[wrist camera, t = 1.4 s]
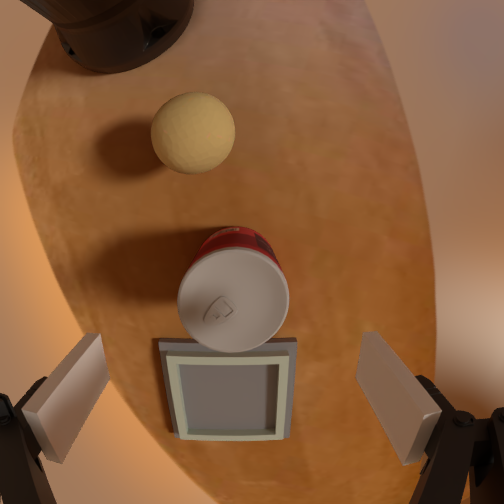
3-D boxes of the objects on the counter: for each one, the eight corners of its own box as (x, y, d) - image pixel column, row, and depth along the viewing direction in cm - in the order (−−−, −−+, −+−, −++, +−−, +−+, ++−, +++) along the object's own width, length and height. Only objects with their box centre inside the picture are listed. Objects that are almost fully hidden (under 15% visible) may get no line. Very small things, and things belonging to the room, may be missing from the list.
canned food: (182, 275, 33) (157, 320, 22) (223, 209, 31) (215, 224, 20) (245, 313, 34) (248, 371, 23) (288, 251, 32) (312, 286, 22)
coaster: (160, 338, 34) (155, 347, 32) (295, 337, 34) (299, 347, 32) (176, 432, 37) (173, 443, 35) (288, 432, 38) (290, 443, 36)
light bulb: (246, 159, 30) (249, 149, 20) (186, 186, 31) (161, 189, 21) (221, 101, 29) (212, 68, 19) (161, 128, 29) (128, 108, 19)
